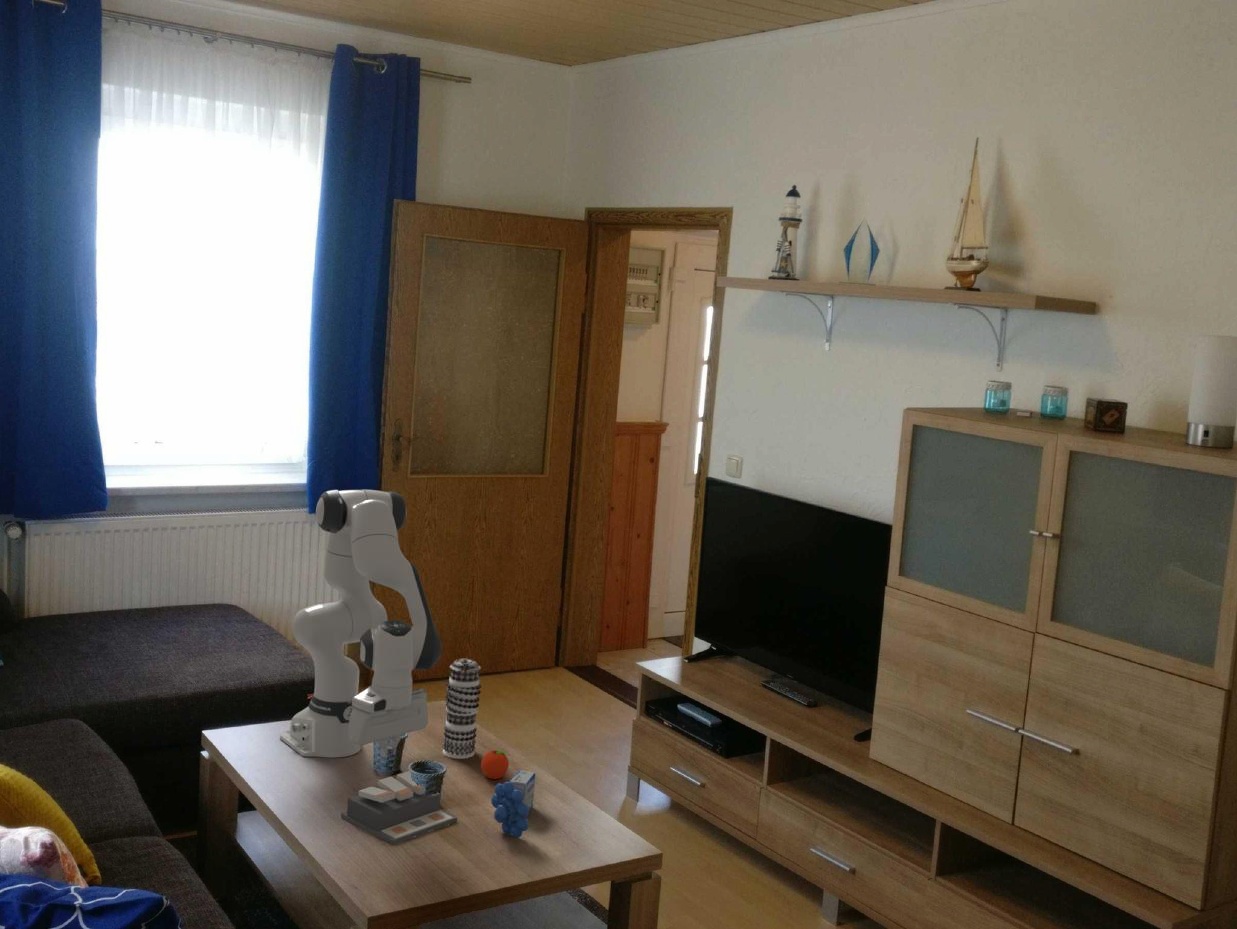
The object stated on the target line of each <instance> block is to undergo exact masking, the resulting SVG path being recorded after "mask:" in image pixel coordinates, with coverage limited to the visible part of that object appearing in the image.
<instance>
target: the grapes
mask: <svg viewBox="0 0 1237 929" xmlns="http://www.w3.org/2000/svg"><path fill="white" fill-rule="evenodd" d="M490 801H491V805H492V806H493V807H494V809H495V810H494V813H493V818H494V820H495V821H496V822H497V823H499V824H501V829H502V832H503V833H504V834H505V835H512V836H513V837H514V838H517V839H519V838H520V837H522V835H523V832H526V831H527V830H528V829H529V824H530V823H529V820H528V819H527V817H528V816H529V813H530V811H529V808H528V806H527V805H526V804H524V803H521V802H522V801H523V793H522V792H521V791H520V790H518V789H514V786H513V784H512V783H511V782H510V780H509V781H505V782H504V783H496V785H495V786H494V794H493V795H492V796H491V800H490Z"/></svg>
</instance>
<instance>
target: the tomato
mask: <svg viewBox="0 0 1237 929" xmlns="http://www.w3.org/2000/svg"><path fill="white" fill-rule="evenodd" d="M506 755H508V756H510V754H509V753H508V752H506V751H503V750H490V751H489V752H486V754H485V755H484V756H483V758H482V759H481V763H480V764H481V765H480V767H481V771H482V773H483V774H484V776H486V777H487V778H489V779H493V780H495V779H501V778H502V777H504V776H505V775H506V773H507V772H508V770H509V766H510V765H509V764H510V763H509V759H508V756H506ZM510 758H511V759H513V757H512V756H510Z"/></svg>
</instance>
